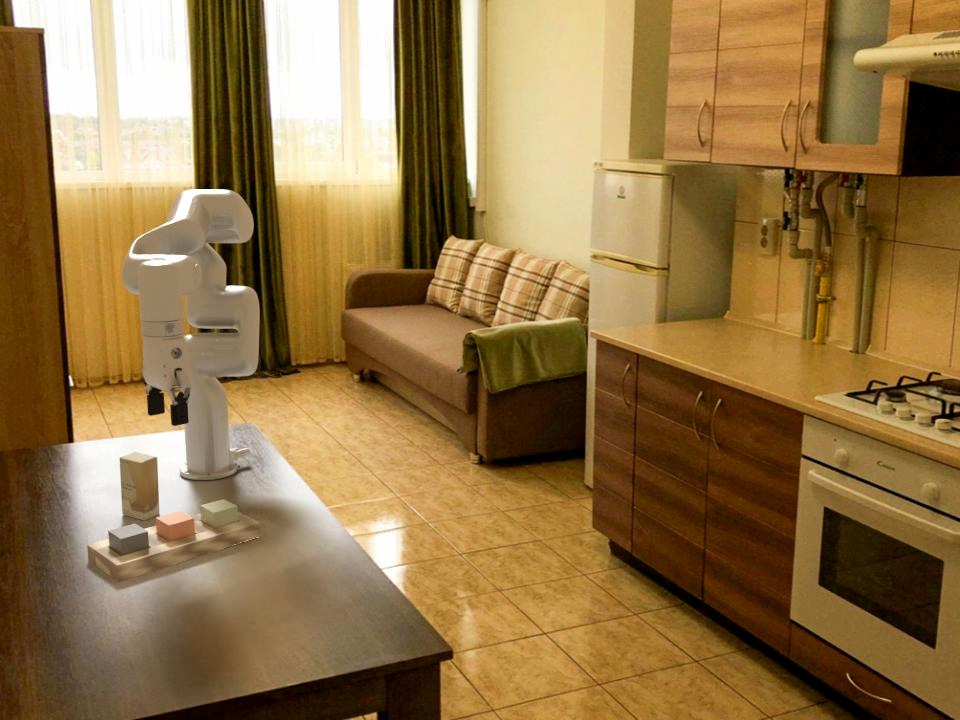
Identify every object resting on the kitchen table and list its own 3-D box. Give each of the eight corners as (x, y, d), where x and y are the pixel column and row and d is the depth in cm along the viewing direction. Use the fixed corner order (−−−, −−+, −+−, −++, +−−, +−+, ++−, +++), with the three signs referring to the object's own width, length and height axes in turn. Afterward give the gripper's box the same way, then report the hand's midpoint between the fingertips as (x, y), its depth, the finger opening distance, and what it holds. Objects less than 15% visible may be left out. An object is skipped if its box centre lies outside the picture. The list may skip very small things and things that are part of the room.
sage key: (224, 517, 197) (223, 499, 196) (238, 525, 193) (237, 506, 192) (201, 524, 193) (200, 505, 193) (214, 532, 190) (213, 512, 189)
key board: (227, 520, 201) (226, 505, 201) (260, 537, 193) (259, 522, 192) (88, 560, 182) (87, 544, 182) (118, 581, 174) (117, 565, 173)
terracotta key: (181, 530, 191) (180, 510, 190) (195, 537, 187) (194, 518, 186) (156, 537, 187) (155, 517, 186) (170, 545, 184) (168, 525, 183)
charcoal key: (136, 543, 185) (134, 523, 184) (149, 551, 181) (148, 531, 180) (109, 550, 181) (108, 530, 180) (122, 559, 178) (120, 539, 177)
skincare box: (121, 515, 203) (117, 456, 201) (138, 508, 207) (134, 451, 204) (145, 521, 200) (141, 462, 198) (161, 514, 204) (157, 456, 201)
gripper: (205, 332, 184) (209, 425, 187) (159, 319, 196) (164, 406, 200) (166, 338, 179) (172, 433, 182) (121, 324, 191) (128, 413, 195)
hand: (168, 419), depth 191 cm, fingers open, 8 cm apart
